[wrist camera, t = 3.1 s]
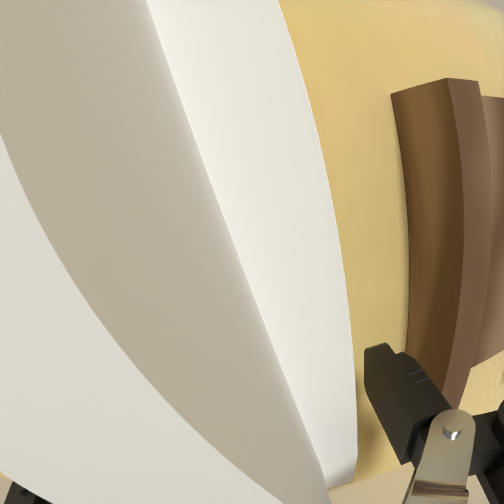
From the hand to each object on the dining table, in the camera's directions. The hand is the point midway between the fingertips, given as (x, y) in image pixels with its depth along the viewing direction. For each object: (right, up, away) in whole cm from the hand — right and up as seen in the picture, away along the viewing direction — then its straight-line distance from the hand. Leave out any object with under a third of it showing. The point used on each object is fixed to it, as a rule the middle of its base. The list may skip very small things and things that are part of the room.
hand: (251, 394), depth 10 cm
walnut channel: (+13, +5, +3) cm, 14 cm away
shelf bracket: (0, +3, +4) cm, 5 cm away
